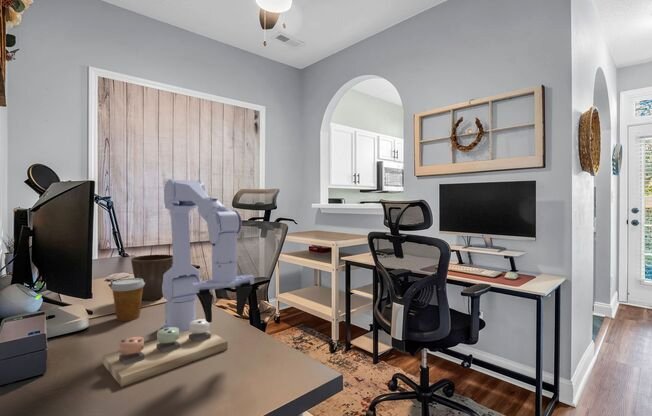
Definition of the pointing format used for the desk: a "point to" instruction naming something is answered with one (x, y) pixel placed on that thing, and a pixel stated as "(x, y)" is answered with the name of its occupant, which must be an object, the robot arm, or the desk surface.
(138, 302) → the disposable coffee cup
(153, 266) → the plant pot
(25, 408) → the desk surface
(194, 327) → the off-white button
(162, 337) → the sage button
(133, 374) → the button panel
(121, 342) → the terracotta button
